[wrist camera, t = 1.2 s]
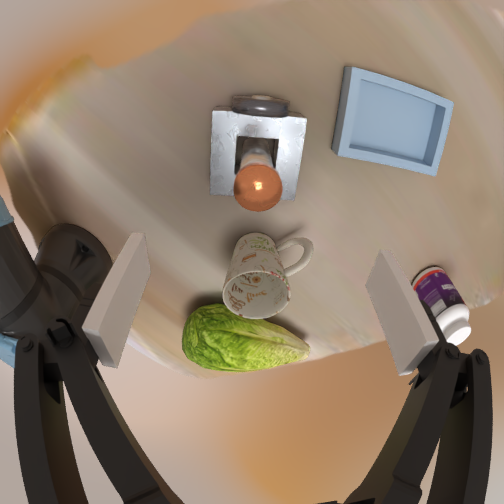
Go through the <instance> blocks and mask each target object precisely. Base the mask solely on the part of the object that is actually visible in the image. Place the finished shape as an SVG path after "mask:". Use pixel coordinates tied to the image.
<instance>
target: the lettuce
mask: <svg viewBox="0 0 504 504" xmlns="http://www.w3.org/2000/svg"><path fill="white" fill-rule="evenodd" d="M182 350H183V351H184V353H185V355H186V356H187V358H188V359H189V360H191V361H193V362H195V363H196V364H198V365H200V366H201V367H203V368H207V369H211V370H217V371H227V372H248V371H257V370H263V369H269V368H273V367H276V366H279V365H283V364H287V363H291V362H296V361H301V360H305V359H306V358H307V357H308V355H309V353H310V346H309V344H307V343H306V342H304V341H303V340H301V339H300V338H298V337H296V336H295V335H294V334H292V333H291V332H289V331H288V330H286V329H285V328H283V327H281V326H279V325H276V324H273V323H270V322H268V321H266V320H264V319H250V318H245V317H241V316H239V315H237V314H235V313H233V312H232V311H230V310H229V309H228V308H227V306H226V305H224V304H220V303H215V304H210V305H206V306H201V307H200V308H198V309H197V310H195V311H194V312H193V313H192V314H191V315H190V316H189V317H188V319H187V321H186V323H185V326H184V329H183V336H182Z"/></svg>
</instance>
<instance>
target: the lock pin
mask: <svg viewBox="0 0 504 504" xmlns="http://www.w3.org/2000/svg"><path fill="white" fill-rule="evenodd" d="M282 191H283V187H282V182H281V178H280V175H279V174H278V172H277V171H276V170H275V169H274V168H273V164H272V159H271V155H270V150H269V146H268V143H267V141H266V140H265V139H264V138H262V137H248V138H247V139H246V140H245V141H244V143H243V147H242V157H241V166H240V170H239V171H238V173H237V174H236V177H235V180H234V187H233V192H234V196H235V199H236V200H237V202H238V203H239V204H240V205H241V206H242V207H244V208H245V209H248V210H250V211H257V212H259V211H265V210H268V209H270V208H272V207H273V206H275V205H276V204H277V203H278V201H279V200H280V198H281V196H282Z"/></svg>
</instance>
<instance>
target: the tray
mask: <svg viewBox="0 0 504 504" xmlns="http://www.w3.org/2000/svg"><path fill="white" fill-rule="evenodd" d="M453 105H454V102H452V101H449V100H447V99H445V98H443V97H440V96H438V95H436V94H433V93H431V92H428V91H426V90H423V89H421V88H418V87H416V86H413V85H410V84H408V83H405V82H402V81H399V80H396V79H393V78H390V77H387V76H384V75H380V74H377V73H374V72H370V71H367V70H363V69H359V68H355V67H344V73H343V80H342V87H341V94H340V100H339V107H338V113H337V119H336V125H335V131H334V136H333V142H332V147H331V149H332V150H333V151H334V152H335V153H336V155H337V156H342V157H348V158H354V159H359V160H365V161H370V162H375V163H380V164H385V165H390V166H394V167H399V168H403V169H408V170H412V171H416V172H420V173H424V174H428V175H432V176H436V173H437V169H438V166H439V163H440V159H441V156H442V152H443V148H444V145H445V141H446V137H447V133H448V128H449V124H450V119H451V115H452V110H453Z"/></svg>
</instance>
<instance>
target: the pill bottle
mask: <svg viewBox="0 0 504 504" xmlns="http://www.w3.org/2000/svg"><path fill="white" fill-rule="evenodd" d="M412 288H413V289H414V291H415V293H416V295H417V297H418V299H419V300H424V301H425V302H426V304H427V305H428V306H429V307H430V309H431V311H432V312H433V316H435V318H436V322H438V324H439V326H440V328H441V330H442V332H443V334H444V336H445V338H446V340H447V342H448V343H452V344H454V345H455V346H457V345H458V344H460V343H461V342H463V341H464V340H465V339H466V338H467V337H468V336H469V334H470V332H471V327H470V325H469V323H468V322H467V321H468V318H469V310H468V307H467V306H466V304H465V302H464V301H463V299H462V298H461V296H460V294H459V293H458V291H457V290H456V288H455V286H454V285H453V283H452V282H451V280H450V279H449V277H448V276H447V274H446V273H445V271H444V270H443V269H441V268H439V267H431V268H428V269H426V270H424V271H423V272H421V273H420V274H419V275H418V276H417V278H416V279H415V280H414V282H413V284H412Z"/></svg>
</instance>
